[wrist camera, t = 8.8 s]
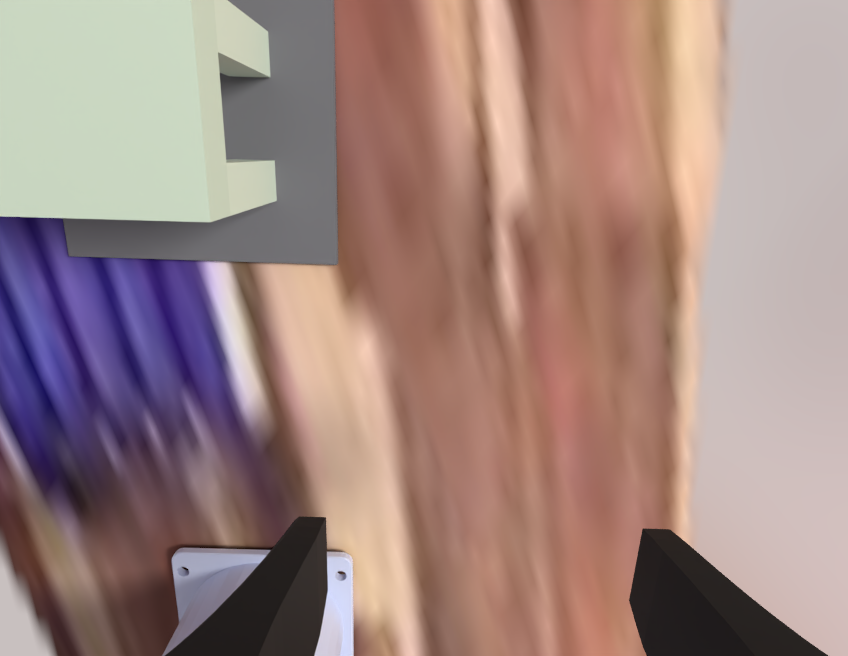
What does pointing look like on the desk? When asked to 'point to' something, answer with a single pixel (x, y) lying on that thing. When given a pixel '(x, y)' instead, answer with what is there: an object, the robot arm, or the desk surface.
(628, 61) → the desk surface
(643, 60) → the desk surface
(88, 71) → the slotted sage cube
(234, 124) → the felt pad
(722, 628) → the robot arm
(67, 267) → the desk surface
